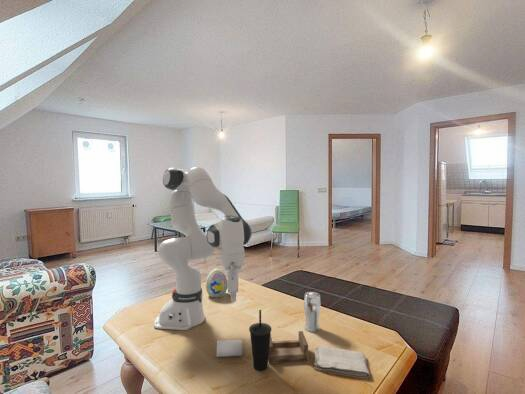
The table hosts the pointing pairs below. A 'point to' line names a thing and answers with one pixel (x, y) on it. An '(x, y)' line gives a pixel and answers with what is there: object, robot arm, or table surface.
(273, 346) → the cradle
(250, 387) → the table surface
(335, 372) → the washcloth
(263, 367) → the drinking cup
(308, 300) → the silver tumbler
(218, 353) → the roll
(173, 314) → the robot arm
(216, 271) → the decorative egg
